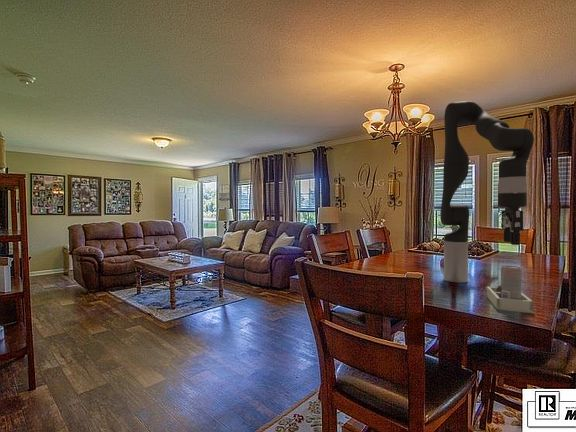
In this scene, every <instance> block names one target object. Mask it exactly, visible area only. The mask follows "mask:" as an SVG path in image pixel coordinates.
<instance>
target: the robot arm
mask: <svg viewBox="0 0 576 432" xmlns="http://www.w3.org/2000/svg"><path fill="white" fill-rule="evenodd" d="M443 116H444V119H443V120H444V157H443V172H442V173H443V175H442V176H443V178H442V179H443V180H442V182H443V183H442V184H443V185H442V197H441V205H440V213H439V214H440V216H439V217H440V218H439V219H440V223H441V224H442V225H443V226H457V229H455V230H454V231H452V232H449V233H445V234H444V236H443V280H444V281H446V282H450V283H451V282H452V283H462V284H463V283H464V284H465V283H468V279H469V278H468V277H469V275H468V274H469V271H468V270H469V223H470V209H469V206H468V205H467V204H461V203H460V204H459V203H458V204H456V203H455V204H454V203H453V204H452V203H451V201H452V199H453V197H454V195H455V193H456V192H457V190H458V189H459V188H460V186H461V185H462V184H463V183H464V181H465V180H466V179H467V177H468V174H469V167H470V166H469V165H470V164H469V163H470V158H469V157H470V156H469V155H468V153H467V151H466V149H465V148H464V146H463V145H462V143H461V142H460V138H459V134H458V127H460V126H462V127H463V126H467V125H472V126H475V130H476V133H477V134H478V135H479V136H481V137H482V138H484V139H485V140H487V141H488V142H489V143H490V145H491V146H492V148H494V149H495V150H497V151H501V152H512V154H511V157H509V158H505V159H502V160H501V161H500V162H499V163H498V182H497V207H498V208H504V210H501V228H502V231H503V237H502V238H503V242H504V243H505V242H506V243H510V245H512V246H519V245H520V244H521V233H522V232H523V231H524V211H523V210H520V208H526V207H527V205H528V204H527V201H528V183H527V163H528V161H529V158H530V154H531V151H532V149H533V145H534V143H535V142H534V141H535V140H534V139H535V138H534V134H533V132H532V130H530V129H529V128H525V127H517V128H515V127H510V125H509V124H508V123H507V122H505V121H504V120H501V119H499V118H497V117H494V116H493V115H491V114H489V113H488V112H487V111H486V110H485V109H483V108H482V107H481V105H479V104H477V102H474V101H473V100H472V101H471V100H467V101H466V100H465V101H464V100H463V101H454V102H449V103H448V104H447V105H446V107H445V110H444V115H443Z"/></svg>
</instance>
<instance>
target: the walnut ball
mask: <svg viewBox="0 0 576 432" xmlns="http://www.w3.org/2000/svg"><path fill="white" fill-rule="evenodd" d="M496 292H500V293H501V284H499V285H498V286H497V289H496Z"/></svg>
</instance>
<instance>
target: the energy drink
mask: <svg viewBox="0 0 576 432" xmlns="http://www.w3.org/2000/svg"><path fill="white" fill-rule="evenodd" d="M522 273H523V271H522V268H521V267H520V266H516V265H501V268H500V285H501V294H500V298H506V299H517V300H521V292H522V283H523V282H522V276H523V275H522Z"/></svg>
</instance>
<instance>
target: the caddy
mask: <svg viewBox="0 0 576 432" xmlns="http://www.w3.org/2000/svg"><path fill="white" fill-rule="evenodd" d="M497 287H498V286H497ZM497 287H495V286H486V297H487V299H488V300H489V301H490V302H491V304H492V305H493V306H494V307H495V309H496V310H498V311H499V310H500V311H507V312H508V311H509V312H515V313H527V314H533V313H534V301H533V300H532V299H531V298H530V297H528V296H527V295H525V294H524V293H523V292H522V291H521V300H517V299H506V298H500V294H501V293H500V292H496V289H497Z"/></svg>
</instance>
